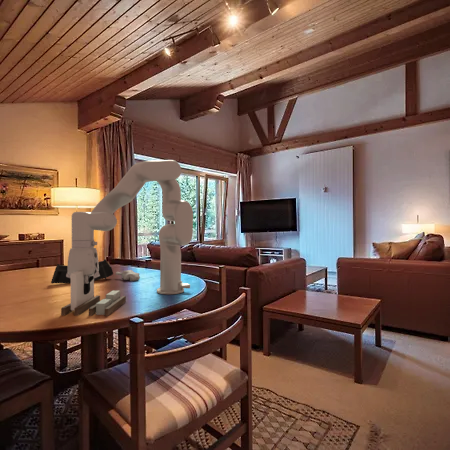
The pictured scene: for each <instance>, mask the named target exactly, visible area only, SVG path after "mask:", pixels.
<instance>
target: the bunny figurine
mask: <svg viewBox="0 0 450 450" xmlns="http://www.w3.org/2000/svg"><path fill="white" fill-rule="evenodd" d="M115 275H117V276H121V278H122V279H123V280H125V281H130V282H135V281H139V280H140V279H141V276H140V273H139V272H134V271H133V269H129V270H128V269H127V270H122V272H119V271H116V272H115Z"/></svg>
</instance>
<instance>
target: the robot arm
mask: <svg viewBox="0 0 450 450" xmlns="http://www.w3.org/2000/svg"><path fill="white" fill-rule="evenodd" d="M181 174H182V167H181V165H180V163H179V162H178V161H176V160H174V159H165V160H164V159H163V160H144V161H141V162H140V161H139V162H137V163H135V164H133V165H132V166H131V167H130V168H129V169H128V171H127V172H126V173H125V174H124V176H123V177H122V178H121V179H120V181H119V182H118V183H117V185H116V186H115V187H114V188H113V189H112V190H110V191H109V192H108V193H107V194H105V196H104V197H103V198H102V199H101V200H99V202H98V203H97V204H96V205H95V207H94V208H93V209H92V210H91V211H74V212H73V213H71V248H70V249H69V251H68V257H67V258H68V259H67V266H68V272H67V274H66V277H68V278H71V273H74V272H77V271H83V275H85V284H84V294H88V293H89V291H90V282H91V281H92V280H93V279H94V278H97V277H99V276H100V274H99V272H98V271H99V262H100V261H99V256H98V250H97V247H95V246H97V245H98V241H95V237H94V236H95V231H101V232H107V231H108V232H109V231H111V230H114V228H115V227H116V226H117V224H118V219H117V217H116V216H115V214H114V213H115V212H117V211H118V209H120V208H122V207H124V206H125V205H128V204H129V203H130V202H133V200H134V199H135V198H136V196H138V194H139V192H140V191H141V189H142V188H143V187H144V186H145V184H146V183H149V182H156V183H157V184H158V185H159V186H160V188H161V191H162V201H161V202H162V205H161V209H162V210H161V213H162V217H163V219H164V220H165V221H167V222H168V221H169V222H174V223H167V224H165V225H162V226H161V228H160V229H159V231H158V240H159V241H158V242H159V246H160V249H159V250H160V266H159V267H160V269H159V270H160V271H159V272H160V274H159V275H160V276H159V277H160V278H159V279H160V280H159V283H160V284H159V285H160V286H159V287H158V288H157V289H156V293H157V294H161V295H177V294H178V295H179V294H182V293H184V291H185V289H191V284H190V283H184V282H183V280H182V251H181V246H187V245H189V244H190V243H191V241H192V238H193V234H194V233H193V232H194V230H193V229H194V227H193V226H194V212H193V207H192V205H191V203H190V202H189V201H187V200H183V199H182V196H181V195H182V191H181V187H180V184H179V182H178V180H177V179H178V178H179V177H180V176H181ZM93 274H94V275H93ZM92 275H93V276H92Z"/></svg>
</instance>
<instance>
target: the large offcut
mask: <svg viewBox="0 0 450 450" xmlns="http://www.w3.org/2000/svg"><path fill="white" fill-rule="evenodd" d="M105 298H106V299H111V304H112V303H114V302H115V301H116V300H118V299H119V298H121V290H111V291H110V292H108V293H106V294H105Z"/></svg>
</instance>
